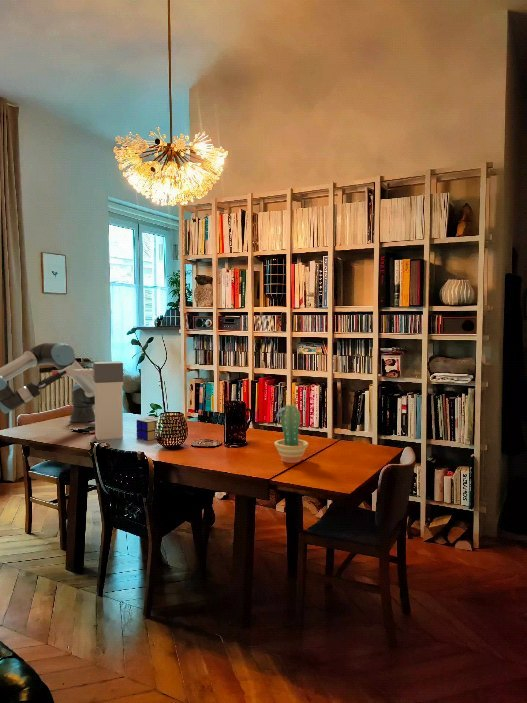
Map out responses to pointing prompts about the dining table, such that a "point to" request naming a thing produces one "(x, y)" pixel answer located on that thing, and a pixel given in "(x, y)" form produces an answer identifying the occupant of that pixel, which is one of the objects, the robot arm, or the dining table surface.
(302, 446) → the potted cactus
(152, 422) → the puzzle cube
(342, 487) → the dining table surface
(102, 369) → the socket stand
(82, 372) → the plug rod
